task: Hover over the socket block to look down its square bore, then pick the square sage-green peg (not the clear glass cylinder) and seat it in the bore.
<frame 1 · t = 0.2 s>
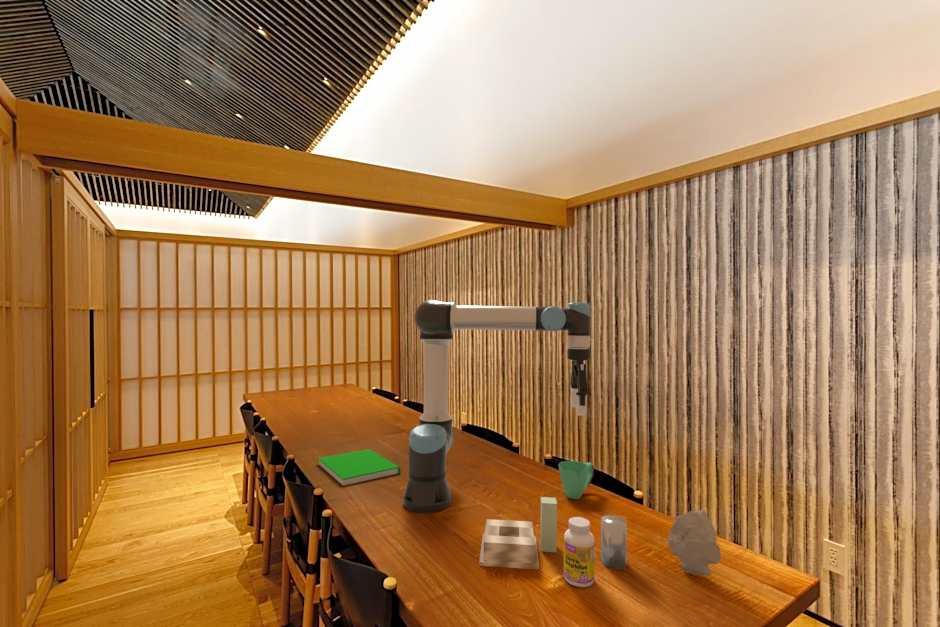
hand: (578, 411, 143), 28 cm above the table, fingers open, 13 cm apart
socket block: (509, 551, 106), on the table
book: (357, 470, 165), on the table
square peg: (548, 547, 108), on the table
stone tool: (693, 575, 97), on the table
supplement bottle: (578, 580, 95), on the table
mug: (578, 494, 143), on the table
clear glass cylinder: (613, 562, 102), on the table
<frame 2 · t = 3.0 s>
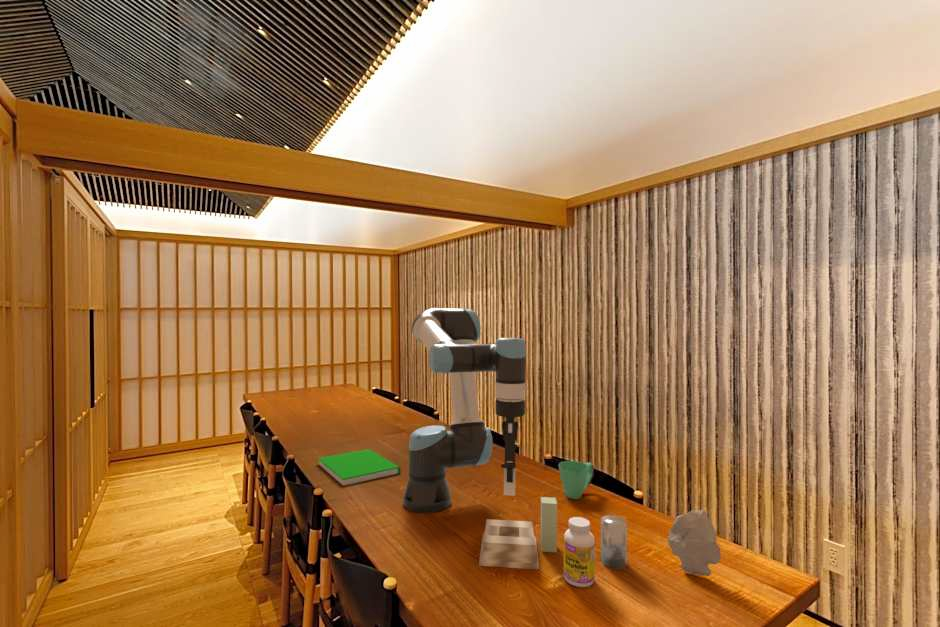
hand: (509, 484, 106), 17 cm above the table, fingers open, 13 cm apart
nothing on the table moved.
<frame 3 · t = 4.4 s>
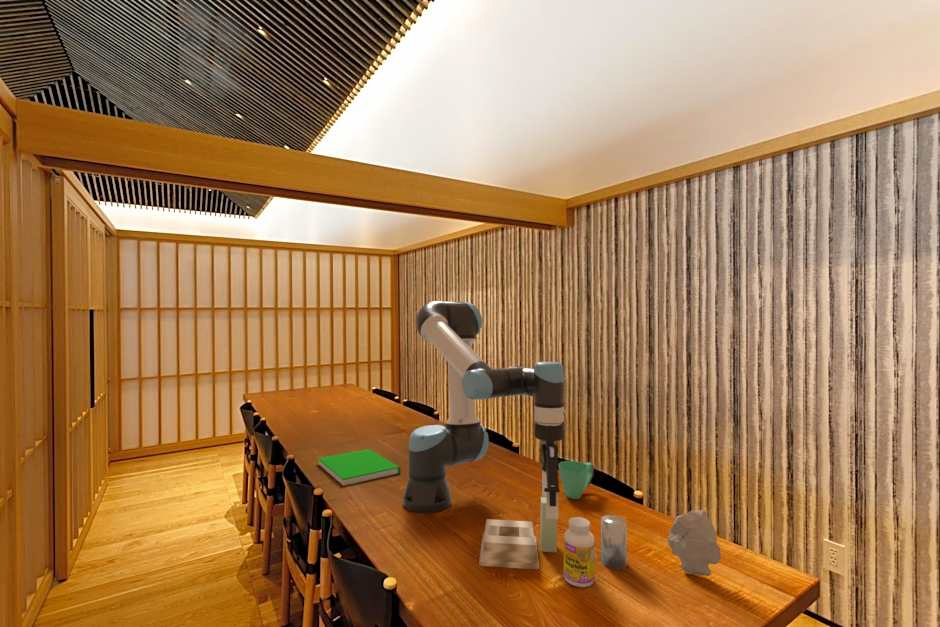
hand: (549, 506, 108), 10 cm above the table, fingers open, 13 cm apart
nothing on the table moved.
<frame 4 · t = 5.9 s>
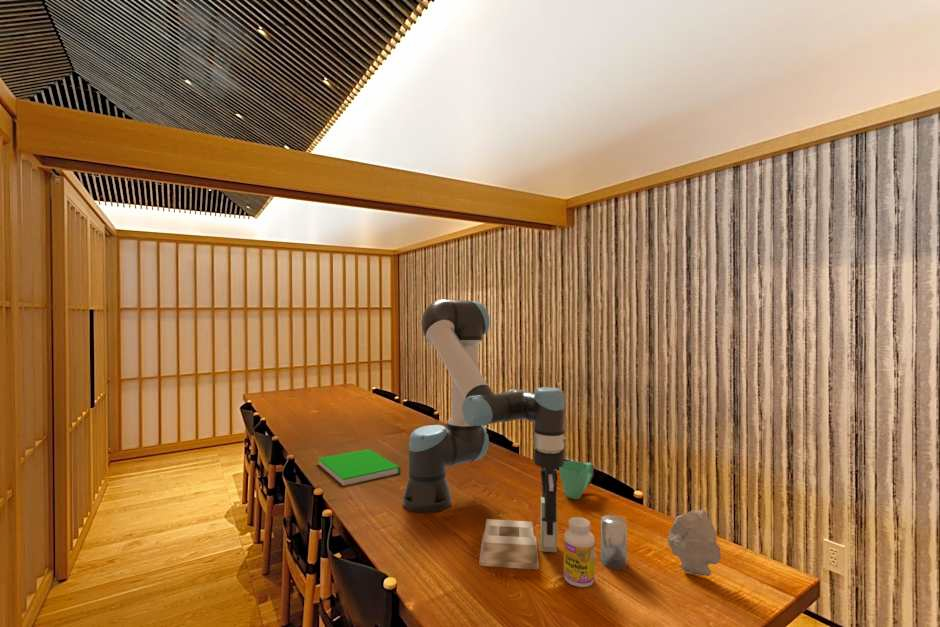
hand: (548, 541, 108), 2 cm above the table, fingers closed on square peg, 4 cm apart
square peg: (548, 547, 108), on the table, touching gripper
everything else where it was.
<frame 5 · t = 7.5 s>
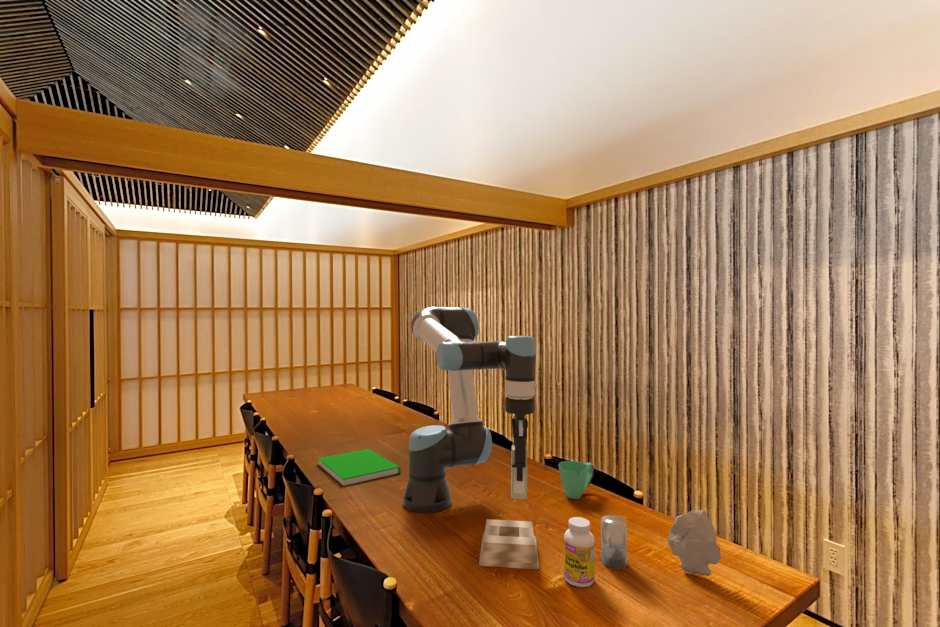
hand: (518, 488, 107), 15 cm above the table, fingers closed on square peg, 4 cm apart
square peg: (518, 495, 107), point 14 cm above the table, touching gripper
everything else where it was.
when the fingers open (6 cm above the table, at t = 9.2 s): square peg drops 4 cm, resting on socket block.
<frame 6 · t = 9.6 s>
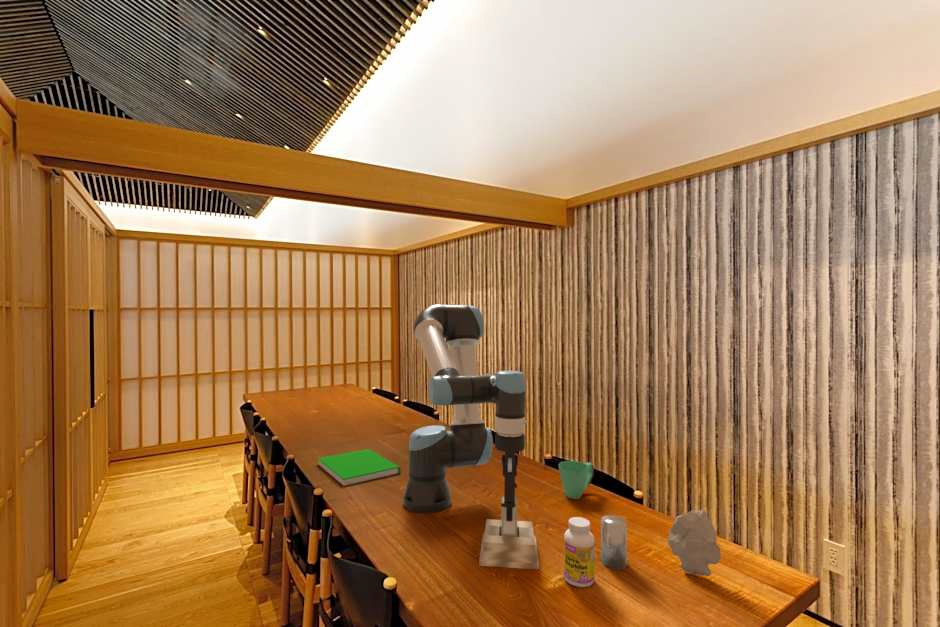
hand: (509, 522, 106), 7 cm above the table, fingers open, 9 cm apart
square peg: (509, 548, 106), point 1 cm above the table, touching socket block
everything else where it was.
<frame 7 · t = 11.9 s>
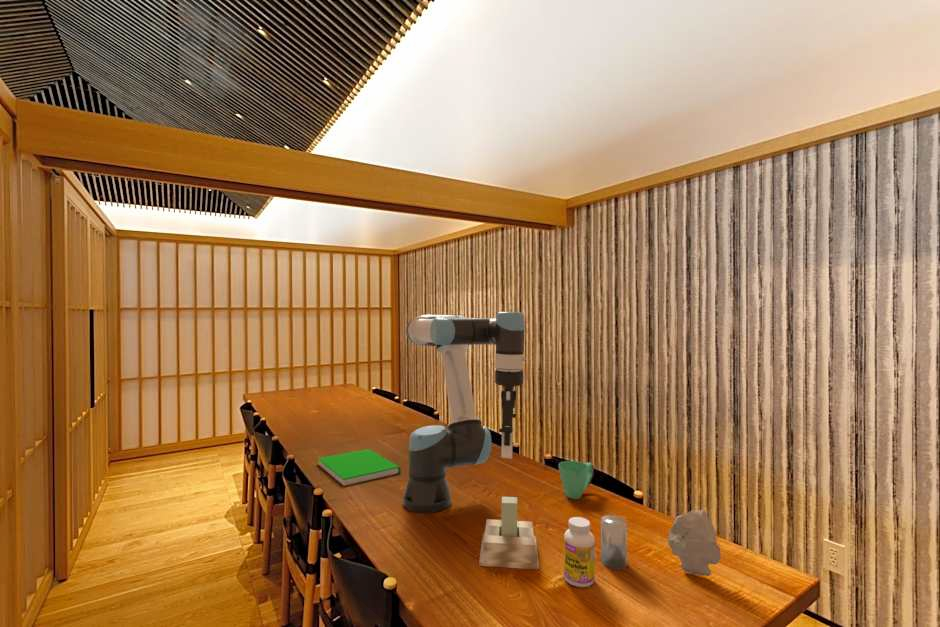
hand: (507, 449, 113), 24 cm above the table, fingers open, 13 cm apart
nothing on the table moved.
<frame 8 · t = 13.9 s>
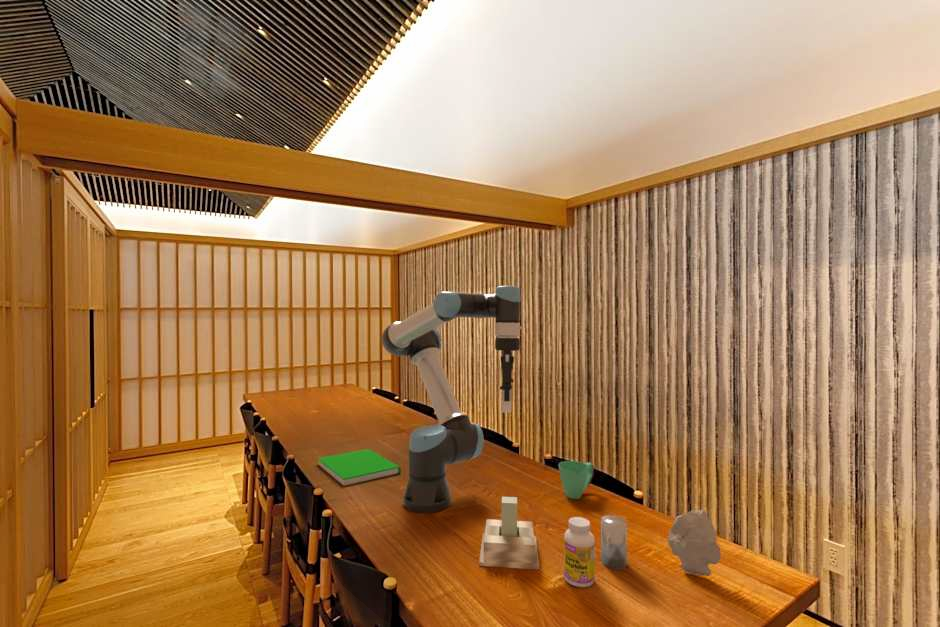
hand: (506, 407, 128), 32 cm above the table, fingers open, 13 cm apart
nothing on the table moved.
at the end: square peg 0.0 cm off-centre on the socket block, point 0.8 cm above the socket block's base; square peg tilted 0°; the gripper is holding nothing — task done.
